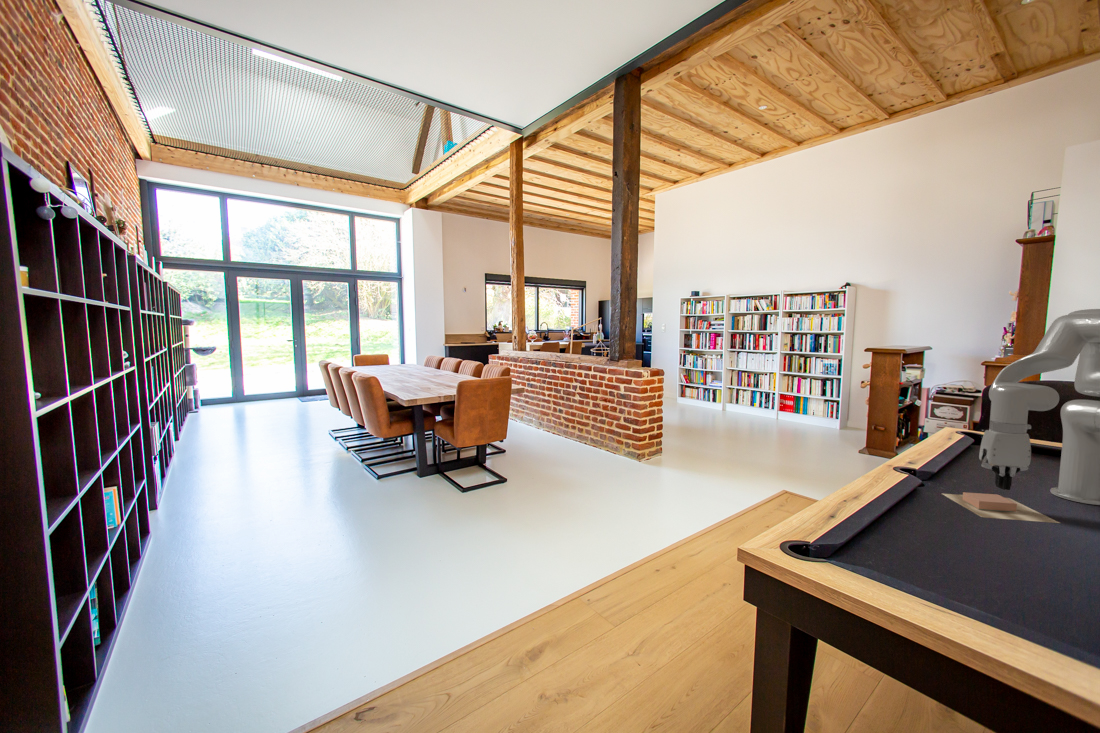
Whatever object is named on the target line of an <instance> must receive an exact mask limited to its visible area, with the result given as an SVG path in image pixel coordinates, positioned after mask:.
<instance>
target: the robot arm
mask: <svg viewBox="0 0 1100 733" xmlns="http://www.w3.org/2000/svg"><path fill="white" fill-rule="evenodd" d="M1077 358H1078V361H1077V366H1076V373H1075V376H1074V385H1073V386H1074V390H1075V391H1076V392H1077V393H1079V394H1082V395H1085V396H1092V397H1099V398H1100V308H1089V309H1078V310H1075V311H1071V312H1070V313H1068V314H1065V315H1061V316H1058V317H1056V319H1054V320H1053V322H1052V323H1051V324H1050V326H1049V327H1048V329H1047V331H1046V332H1045V334H1044V335H1043V337H1042V339H1041V340H1040V341H1039V343H1038V345H1037V347H1036V348H1035V349H1034V351H1033V352H1032V353H1030V354H1028V355H1026V356H1022V357H1021V358H1019V359H1017V360H1015V361H1013V362H1012V363H1010V364H1008V365H1006V366H1005V367H1004V368H1003V369H1002V370H1000V371H999V373H998V374H997V376H996V377H995V379H994V380H993V381H992V383H991V386H990V387H989V389H988V390H989V391H988V398H989V400H990V401H991V402H990V413H989V414H990V415H989V428H988V429H985V431H984V433H983V436H982V438H981V442H980V447H979V455H978V458H979V460H980V461H981V462H982V463H981V465H980V466H981V467H982V468H984V469H986V470H987V469H988V470H991V471H992V473H993V474H995V478H994V484H995V487H997V488H998V489H1001V490H1004V491H1005V490H1006V491H1010V490H1011V487H1012V482H1013V478H1015V476H1016V474H1017V473H1018V472H1024V471H1028V470H1029V465H1030V464H1031V460H1032V447H1031V446H1032V445H1031V439H1030V435H1029V433H1027V432H1028V430H1031V429H1032V425H1031V424H1028V416H1029V411H1036V412H1045V411H1051V410H1052V409H1054V408H1055V407H1056V406H1057V405H1058V404H1059V401H1060V395H1059V393H1058V392H1057V390H1056V389H1055V388H1053V387H1050V386H1047V385H1040V384H1029V383H1023V382H1022V383H1021V381H1022V380H1024V379H1026V378H1028V377H1031V376H1034V375H1040V374H1044V373H1049V372H1055V371H1057V370H1062V369H1065V368H1069V367H1071V366H1072V365H1073V364H1074V363H1075V362H1076V359H1077ZM1060 419H1061V425H1062V442H1061V443H1062V444H1061V454H1060V455H1061V456H1060V464H1059V465H1060V466H1059V474H1058V476H1059V477H1058V486H1055V487H1051V488H1050V493H1051V494H1052V495H1054V496H1056V497H1059V498H1062V499H1065V500H1069V501H1071V502H1077V503H1081V504H1087V505H1095V506H1100V400H1093V399H1072V400H1067V402H1065V403H1064V404H1063V405H1062V406H1061V408H1060Z"/></svg>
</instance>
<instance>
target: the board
mask: <svg viewBox="0 0 1100 733" xmlns="http://www.w3.org/2000/svg"><path fill="white" fill-rule="evenodd" d="M941 495H943V496H944V497H946V498H948V499H949V500H951V501H953V502H955V503H957V504H958V505H960V506H962V507H963V508H965V509H966V510H969V511H970V512H972V513H973V514H975V515H977V516H978V517H981V518H984V519H997V520H998V519H999V520H1000V519H1001V520H1010V521H1011V520H1013V521H1026V522H1037V523H1038V522H1041V523H1050V524H1052V523H1053V524H1054V523H1055V524H1061V522H1059V521H1057V520H1055V519H1053V518H1051V517H1049V516H1047V515H1045V514H1043V513H1041V512H1038V511H1037V510H1035V509H1032V508H1030V507H1028V506H1027V505H1024V504H1023V503H1020V502H1019V501H1016V500H1014V499H1012V498H1010V497H1005V498H1006V499H1008V500H1010V501H1012V502H1014V503H1016V504H1017V508H1016V512H1005V511H991V510H979V509H977V508H975V507H974V506H972V505H970V504H968V503H967V502H965V501H964V500H963V494H953V493H941Z"/></svg>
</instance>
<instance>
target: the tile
mask: <svg viewBox="0 0 1100 733" xmlns="http://www.w3.org/2000/svg"><path fill="white" fill-rule="evenodd" d="M962 495H963V500H964V501H965V502H967V503H968V504H970V505H972V506H974V507H975V508H977V509H979V510H991V511H1005V512H1016V508H1017V504H1016V503H1014V502H1012V501H1010V500H1008V499H1006V498H1007V497H1004V496H1003V495H999V494H995V493H993V494H992V493H979V492H963V491H962Z"/></svg>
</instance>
